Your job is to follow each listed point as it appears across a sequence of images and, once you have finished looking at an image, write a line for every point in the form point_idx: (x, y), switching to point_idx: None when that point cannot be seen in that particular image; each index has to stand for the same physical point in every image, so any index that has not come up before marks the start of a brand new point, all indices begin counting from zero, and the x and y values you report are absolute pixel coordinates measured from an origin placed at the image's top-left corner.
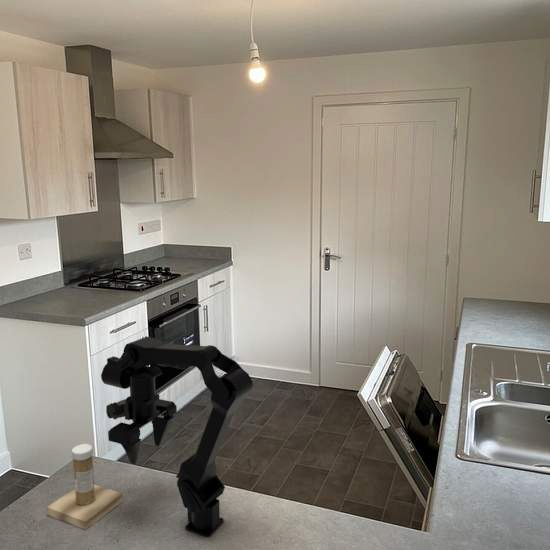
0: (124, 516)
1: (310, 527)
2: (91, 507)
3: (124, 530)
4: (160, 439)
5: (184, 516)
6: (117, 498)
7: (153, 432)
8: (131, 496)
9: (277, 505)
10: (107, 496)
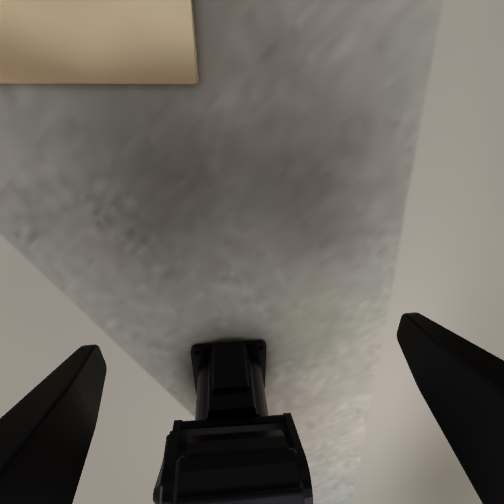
0: (131, 165)
1: (311, 473)
2: (15, 14)
3: (79, 220)
4: (427, 403)
5: (236, 315)
6: (162, 83)
7: (502, 396)
8: (244, 93)
9: (355, 423)
10: (135, 23)
